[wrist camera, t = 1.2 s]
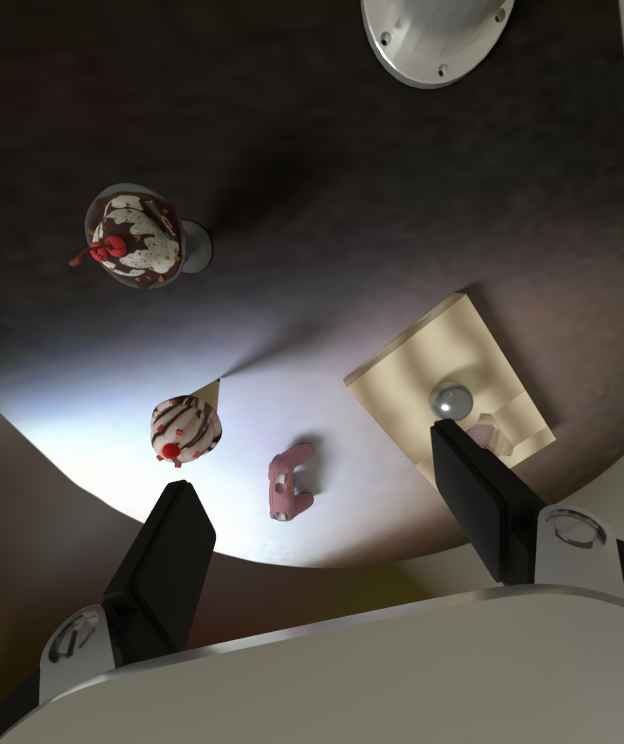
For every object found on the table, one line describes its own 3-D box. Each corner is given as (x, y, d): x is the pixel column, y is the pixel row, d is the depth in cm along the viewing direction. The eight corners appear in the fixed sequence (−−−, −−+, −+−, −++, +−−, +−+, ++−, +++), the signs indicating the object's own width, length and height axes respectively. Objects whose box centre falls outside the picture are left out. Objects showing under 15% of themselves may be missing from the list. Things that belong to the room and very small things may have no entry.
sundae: (155, 277, 30) (34, 288, 16) (152, 205, 28) (7, 145, 14) (219, 286, 31) (157, 304, 17) (221, 216, 29) (150, 169, 14)
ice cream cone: (197, 351, 33) (125, 414, 19) (246, 359, 34) (212, 427, 20) (194, 395, 35) (126, 483, 21) (241, 402, 36) (206, 492, 22)
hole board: (453, 292, 32) (466, 294, 30) (540, 429, 40) (555, 439, 37) (342, 379, 35) (346, 387, 33) (442, 492, 43) (450, 505, 40)
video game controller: (286, 434, 40) (258, 464, 33) (317, 442, 38) (293, 475, 32) (288, 491, 43) (262, 528, 37) (316, 500, 41) (294, 541, 35)
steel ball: (447, 367, 33) (469, 382, 29) (466, 394, 34) (490, 412, 30) (414, 391, 34) (431, 409, 29) (434, 416, 35) (453, 437, 31)
